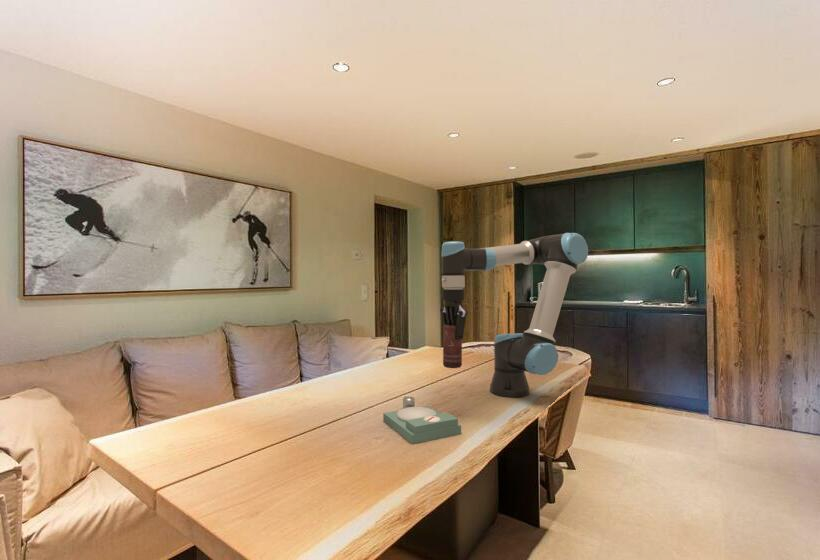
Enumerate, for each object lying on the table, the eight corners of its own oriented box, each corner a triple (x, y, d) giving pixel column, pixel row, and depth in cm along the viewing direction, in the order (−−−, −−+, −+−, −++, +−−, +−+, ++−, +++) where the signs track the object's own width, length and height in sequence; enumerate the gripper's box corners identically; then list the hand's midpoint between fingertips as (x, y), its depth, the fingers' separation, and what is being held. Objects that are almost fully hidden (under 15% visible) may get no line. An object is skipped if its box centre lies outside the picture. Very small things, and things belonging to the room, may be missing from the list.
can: (461, 368, 130) (462, 325, 130) (442, 367, 131) (442, 324, 131) (463, 364, 136) (463, 323, 136) (444, 364, 137) (444, 322, 137)
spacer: (411, 407, 141) (411, 395, 141) (416, 410, 138) (416, 399, 138) (401, 409, 140) (400, 397, 140) (406, 412, 136) (406, 400, 136)
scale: (427, 413, 135) (427, 398, 135) (461, 433, 117) (461, 416, 117) (383, 420, 128) (383, 405, 128) (412, 444, 110) (412, 426, 110)
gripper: (433, 288, 138) (433, 357, 138) (454, 289, 126) (454, 364, 126) (452, 287, 141) (452, 355, 141) (474, 288, 129) (474, 362, 130)
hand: (453, 359), depth 134 cm, fingers closed
